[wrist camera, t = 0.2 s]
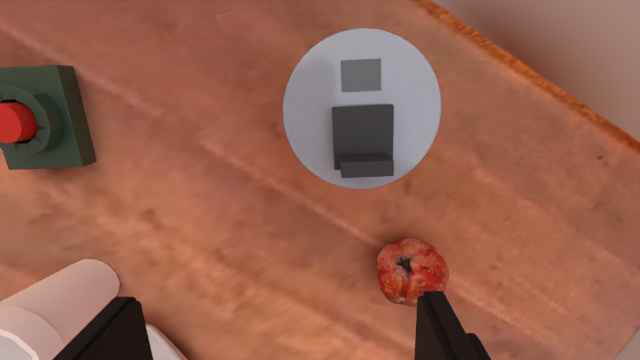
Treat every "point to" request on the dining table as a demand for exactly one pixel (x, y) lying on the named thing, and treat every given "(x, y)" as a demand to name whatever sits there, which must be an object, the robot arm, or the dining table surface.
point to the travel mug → (361, 99)
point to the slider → (363, 140)
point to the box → (47, 118)
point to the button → (16, 123)
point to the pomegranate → (410, 271)
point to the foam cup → (54, 310)
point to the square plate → (162, 345)
